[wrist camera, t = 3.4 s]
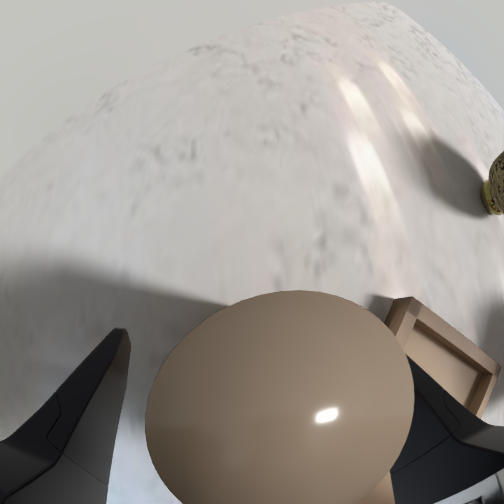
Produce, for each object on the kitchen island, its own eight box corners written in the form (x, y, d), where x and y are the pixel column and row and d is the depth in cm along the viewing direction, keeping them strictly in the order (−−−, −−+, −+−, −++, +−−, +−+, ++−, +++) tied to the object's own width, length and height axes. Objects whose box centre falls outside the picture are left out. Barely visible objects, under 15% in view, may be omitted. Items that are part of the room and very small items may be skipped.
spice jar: (253, 412, 16) (324, 547, 4) (173, 367, 16) (101, 466, 4) (300, 336, 17) (447, 362, 5) (221, 289, 17) (245, 232, 5)
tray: (396, 520, 14) (407, 530, 12) (274, 498, 14) (280, 514, 12) (485, 365, 18) (501, 366, 16) (395, 298, 18) (412, 296, 16)
